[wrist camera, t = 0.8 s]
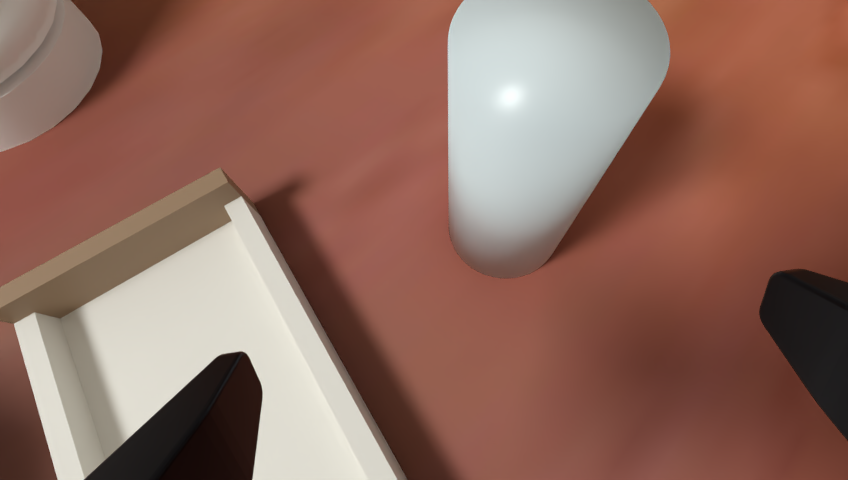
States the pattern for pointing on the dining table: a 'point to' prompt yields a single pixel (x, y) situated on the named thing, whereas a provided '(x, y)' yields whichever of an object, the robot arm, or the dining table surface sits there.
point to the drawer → (187, 339)
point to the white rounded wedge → (540, 117)
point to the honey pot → (43, 66)
